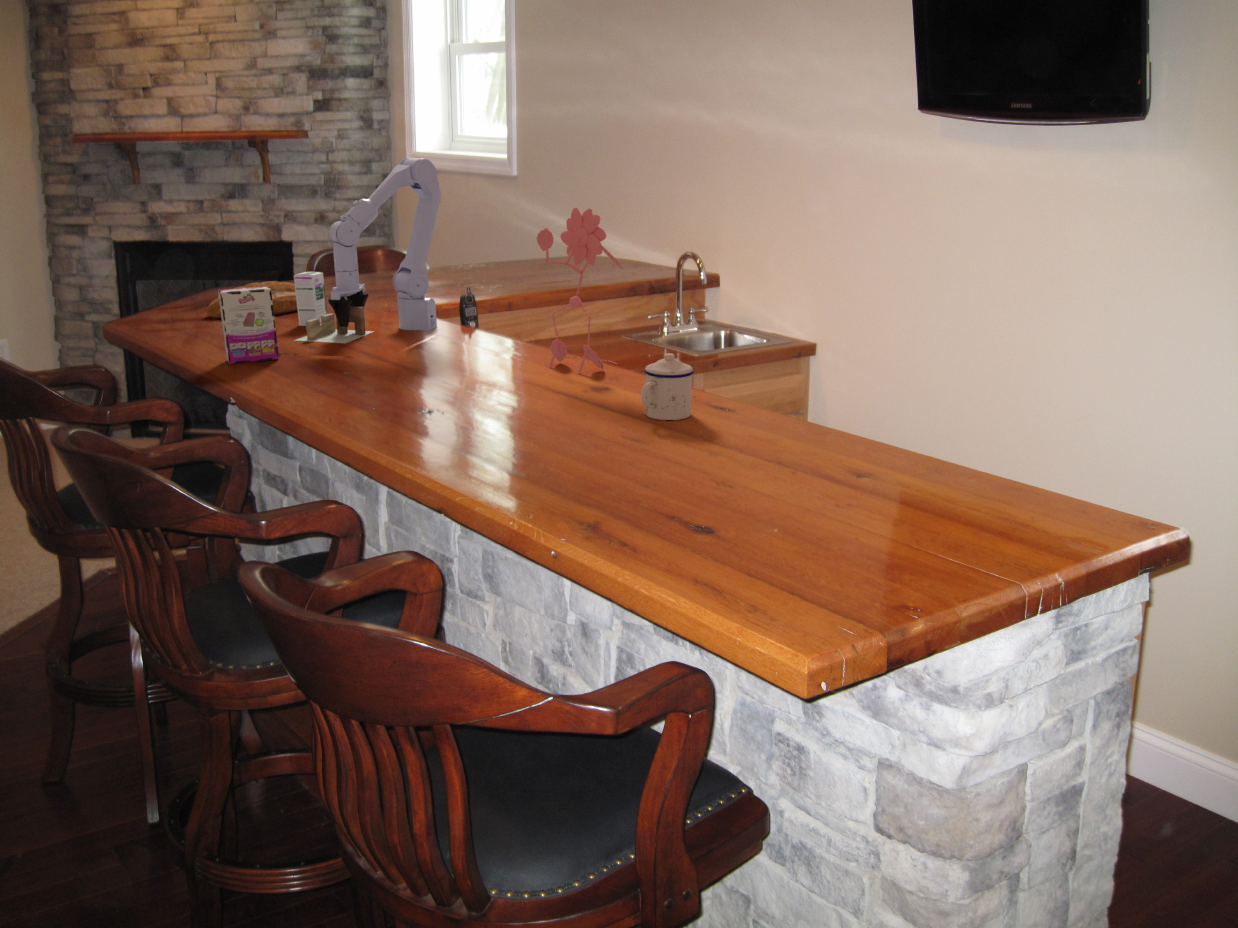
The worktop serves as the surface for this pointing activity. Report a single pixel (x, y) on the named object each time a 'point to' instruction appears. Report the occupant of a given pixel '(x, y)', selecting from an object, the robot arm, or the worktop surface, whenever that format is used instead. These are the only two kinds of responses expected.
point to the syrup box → (310, 296)
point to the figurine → (581, 245)
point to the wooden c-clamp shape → (354, 321)
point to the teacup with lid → (668, 389)
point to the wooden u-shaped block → (320, 326)
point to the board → (336, 337)
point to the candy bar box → (248, 324)
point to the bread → (280, 297)
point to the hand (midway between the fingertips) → (350, 324)
